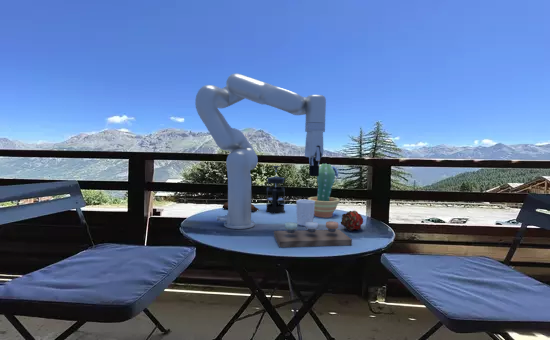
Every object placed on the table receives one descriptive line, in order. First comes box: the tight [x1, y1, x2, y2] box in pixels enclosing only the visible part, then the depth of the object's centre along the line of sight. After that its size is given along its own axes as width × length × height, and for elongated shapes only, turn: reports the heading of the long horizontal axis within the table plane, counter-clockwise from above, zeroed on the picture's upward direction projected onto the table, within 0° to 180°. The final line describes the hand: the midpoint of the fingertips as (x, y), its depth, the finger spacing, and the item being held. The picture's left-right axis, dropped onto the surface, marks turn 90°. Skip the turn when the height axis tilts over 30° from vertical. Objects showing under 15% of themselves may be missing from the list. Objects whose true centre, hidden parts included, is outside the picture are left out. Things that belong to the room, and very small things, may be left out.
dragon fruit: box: [340, 210, 364, 232], centre depth 132 cm, size 8×8×12 cm
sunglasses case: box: [222, 201, 260, 213], centre depth 168 cm, size 18×7×7 cm
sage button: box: [284, 221, 298, 233], centre depth 115 cm, size 4×4×3 cm
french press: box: [265, 165, 285, 214], centre depth 163 cm, size 12×9×23 cm
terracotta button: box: [325, 220, 339, 232], centre depth 117 cm, size 4×4×3 cm
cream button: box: [304, 221, 319, 233], centre depth 116 cm, size 4×4×3 cm
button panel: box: [273, 228, 353, 248], centre depth 116 cm, size 25×13×2 cm, turn 99°
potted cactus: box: [307, 163, 341, 218], centre depth 157 cm, size 15×15×25 cm
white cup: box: [295, 199, 315, 227], centre depth 140 cm, size 8×8×10 cm
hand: (313, 175), depth 127 cm, fingers closed
